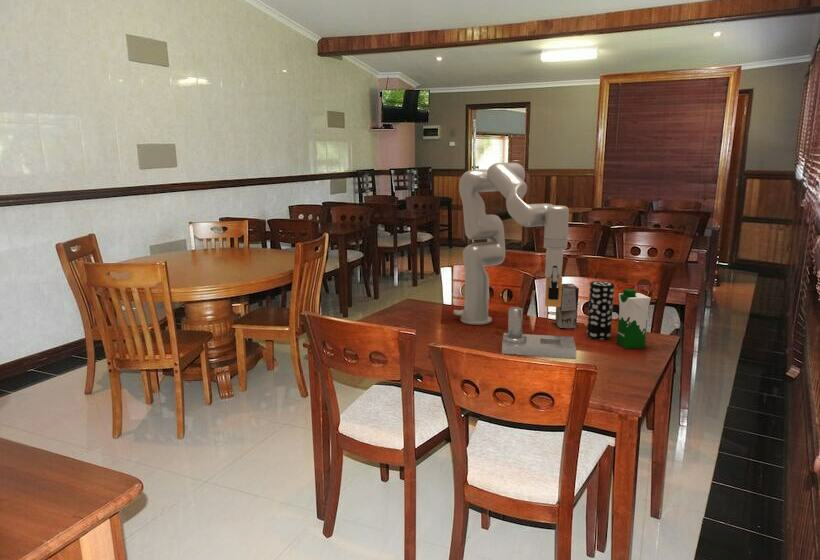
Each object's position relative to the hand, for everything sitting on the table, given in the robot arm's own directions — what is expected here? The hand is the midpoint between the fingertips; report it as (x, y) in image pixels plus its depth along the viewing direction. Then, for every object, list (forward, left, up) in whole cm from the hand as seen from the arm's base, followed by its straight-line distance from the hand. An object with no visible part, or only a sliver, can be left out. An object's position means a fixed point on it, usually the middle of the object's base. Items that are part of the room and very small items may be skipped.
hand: (552, 297), depth 191 cm
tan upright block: (0, 0, -3) cm, 3 cm away
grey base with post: (-4, 0, -19) cm, 19 cm away
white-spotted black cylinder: (+18, +19, -19) cm, 32 cm away
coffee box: (+7, +31, -19) cm, 37 cm away
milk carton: (+28, +11, -19) cm, 35 cm away
